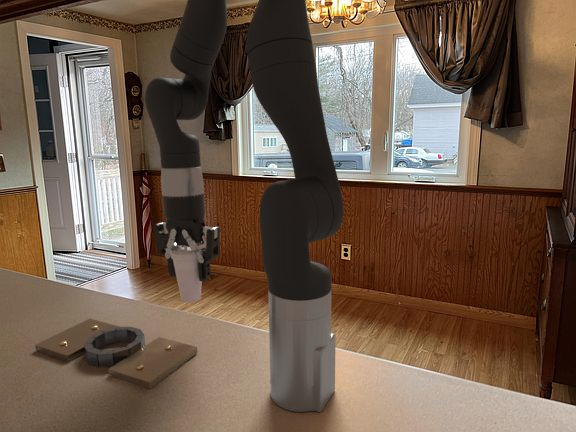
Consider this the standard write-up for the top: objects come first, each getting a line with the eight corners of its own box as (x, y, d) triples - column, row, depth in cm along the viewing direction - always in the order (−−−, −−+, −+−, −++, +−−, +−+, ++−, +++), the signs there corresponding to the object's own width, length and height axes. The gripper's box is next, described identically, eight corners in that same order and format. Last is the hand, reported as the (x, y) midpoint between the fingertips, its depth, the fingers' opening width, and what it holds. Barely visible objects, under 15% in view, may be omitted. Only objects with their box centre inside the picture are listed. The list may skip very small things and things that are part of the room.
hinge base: (197, 352, 78) (196, 340, 77) (150, 389, 67) (148, 374, 66) (90, 323, 90) (89, 312, 89) (35, 350, 79) (34, 338, 78)
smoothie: (166, 301, 81) (160, 230, 78) (189, 290, 86) (184, 223, 84) (193, 307, 78) (188, 233, 75) (214, 295, 83) (210, 226, 81)
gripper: (227, 190, 78) (231, 276, 82) (166, 187, 84) (173, 268, 88) (202, 196, 72) (208, 290, 75) (138, 193, 78) (146, 279, 81)
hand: (189, 277), depth 81 cm, fingers closed on smoothie, 6 cm apart
